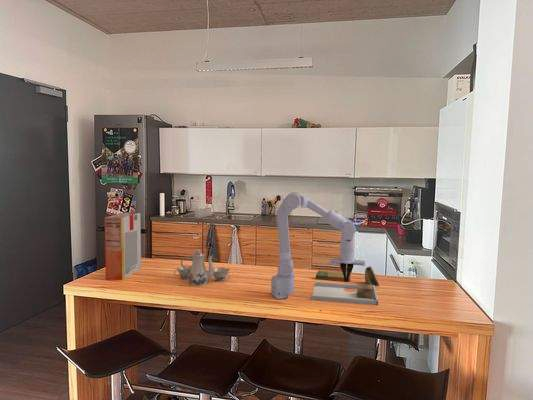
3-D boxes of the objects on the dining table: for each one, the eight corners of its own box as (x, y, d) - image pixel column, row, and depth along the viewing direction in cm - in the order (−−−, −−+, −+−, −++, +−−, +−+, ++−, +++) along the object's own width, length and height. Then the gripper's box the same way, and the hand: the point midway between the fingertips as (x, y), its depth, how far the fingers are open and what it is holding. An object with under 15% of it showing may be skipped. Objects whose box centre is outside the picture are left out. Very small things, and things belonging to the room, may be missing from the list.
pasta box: (126, 267, 205) (125, 212, 203) (141, 267, 205) (140, 212, 202) (105, 279, 182) (104, 217, 180) (122, 280, 182) (121, 217, 180)
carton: (349, 286, 177) (349, 277, 177) (315, 283, 182) (315, 274, 181) (350, 281, 185) (350, 272, 185) (317, 278, 190) (317, 269, 189)
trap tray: (310, 303, 152) (311, 294, 152) (314, 288, 172) (315, 281, 171) (378, 308, 147) (378, 299, 147) (374, 293, 166) (374, 285, 166)
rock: (360, 276, 184) (356, 278, 175) (371, 263, 183) (368, 265, 173) (377, 292, 180) (374, 295, 171) (389, 279, 179) (387, 282, 170)
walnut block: (357, 297, 155) (357, 288, 155) (356, 293, 161) (357, 283, 161) (372, 298, 154) (372, 289, 154) (371, 294, 160) (371, 284, 160)
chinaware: (232, 280, 188) (232, 247, 189) (226, 287, 172) (227, 250, 172) (176, 279, 190) (177, 245, 191) (165, 285, 173) (166, 249, 174)
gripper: (329, 250, 155) (328, 282, 156) (365, 252, 152) (364, 285, 153) (329, 247, 162) (329, 278, 163) (364, 249, 159) (363, 280, 160)
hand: (346, 281), depth 159 cm, fingers closed
